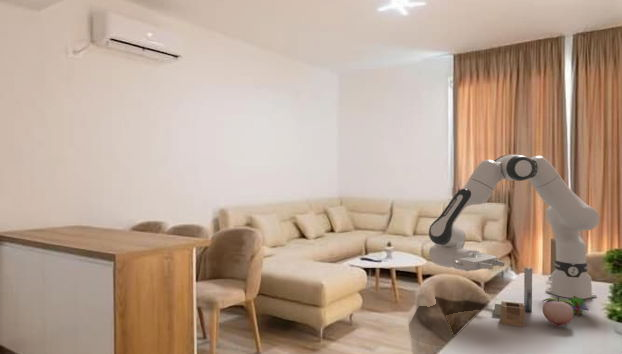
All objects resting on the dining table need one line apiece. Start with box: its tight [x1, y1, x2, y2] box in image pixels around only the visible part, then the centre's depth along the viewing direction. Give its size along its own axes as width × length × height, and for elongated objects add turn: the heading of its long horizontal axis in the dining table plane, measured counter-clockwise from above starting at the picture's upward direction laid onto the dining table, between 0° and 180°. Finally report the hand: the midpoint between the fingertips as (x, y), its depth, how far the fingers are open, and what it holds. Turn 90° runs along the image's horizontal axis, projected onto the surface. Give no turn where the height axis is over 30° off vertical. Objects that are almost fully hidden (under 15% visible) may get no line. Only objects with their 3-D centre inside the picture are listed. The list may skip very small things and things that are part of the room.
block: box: [494, 298, 516, 317], centre depth 159 cm, size 7×7×4 cm
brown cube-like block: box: [500, 301, 526, 328], centre depth 149 cm, size 7×7×6 cm
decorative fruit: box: [542, 295, 575, 327], centre depth 145 cm, size 9×8×10 cm
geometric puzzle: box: [568, 296, 589, 318], centre depth 158 cm, size 7×7×8 cm
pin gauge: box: [523, 267, 533, 314], centre depth 162 cm, size 3×3×16 cm
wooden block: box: [549, 237, 556, 276], centre depth 213 cm, size 10×10×20 cm
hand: (498, 265), depth 170 cm, fingers open, 8 cm apart
